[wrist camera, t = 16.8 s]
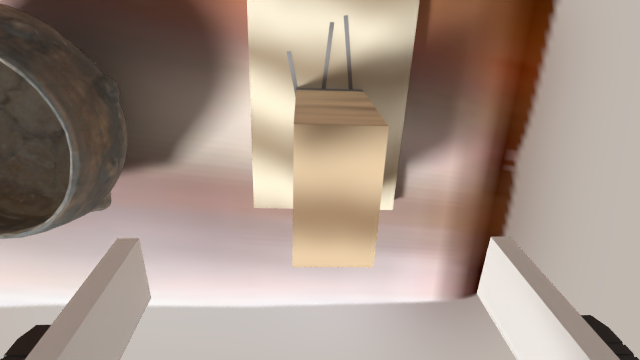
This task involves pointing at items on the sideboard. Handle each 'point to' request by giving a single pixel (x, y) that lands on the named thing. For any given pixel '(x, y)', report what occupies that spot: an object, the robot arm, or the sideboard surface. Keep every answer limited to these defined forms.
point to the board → (324, 76)
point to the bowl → (53, 129)
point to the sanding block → (336, 177)
